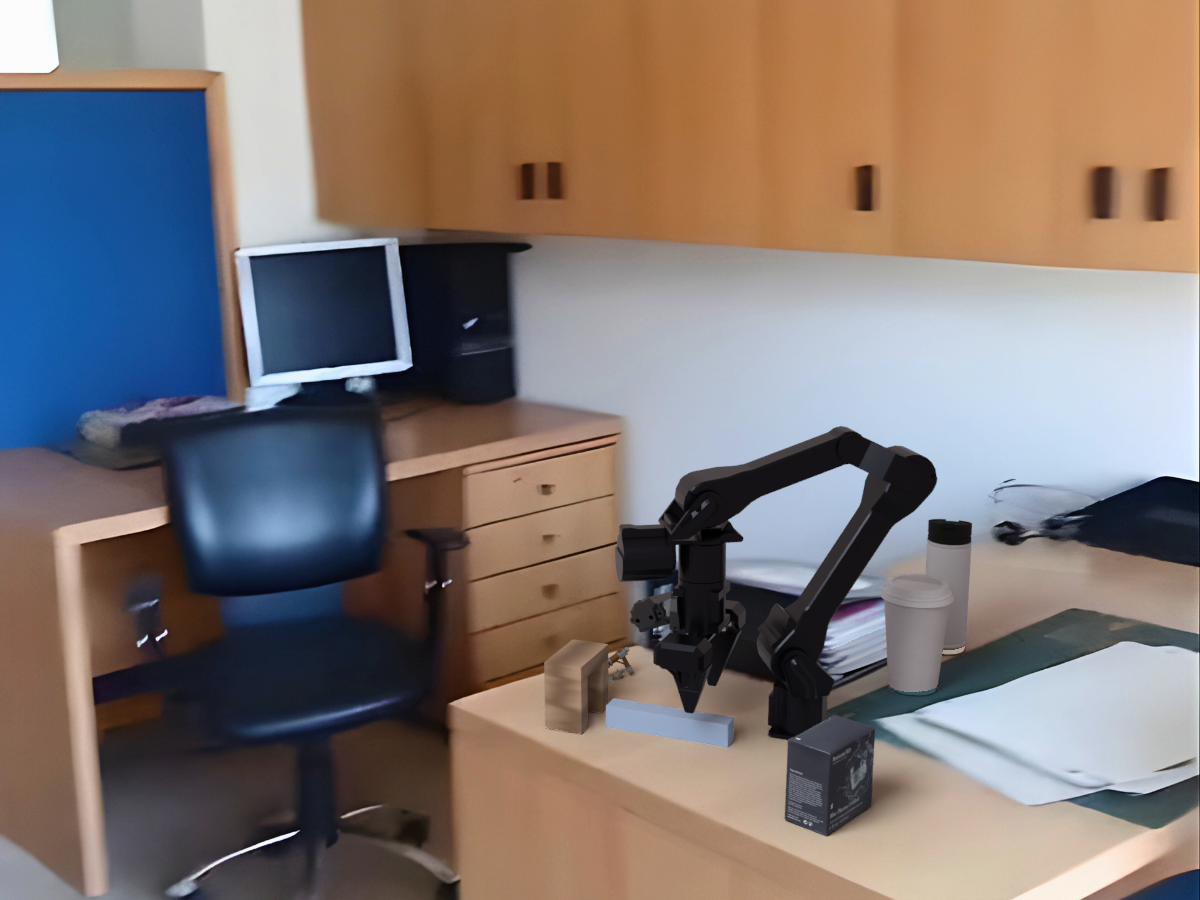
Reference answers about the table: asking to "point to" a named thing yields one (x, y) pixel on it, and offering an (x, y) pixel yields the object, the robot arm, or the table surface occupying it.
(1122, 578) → the table surface
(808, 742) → the box
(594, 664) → the wooden block
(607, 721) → the light blue rectangular bar
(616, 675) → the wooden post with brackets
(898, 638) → the coffee cup
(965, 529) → the travel mug
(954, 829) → the table surface
